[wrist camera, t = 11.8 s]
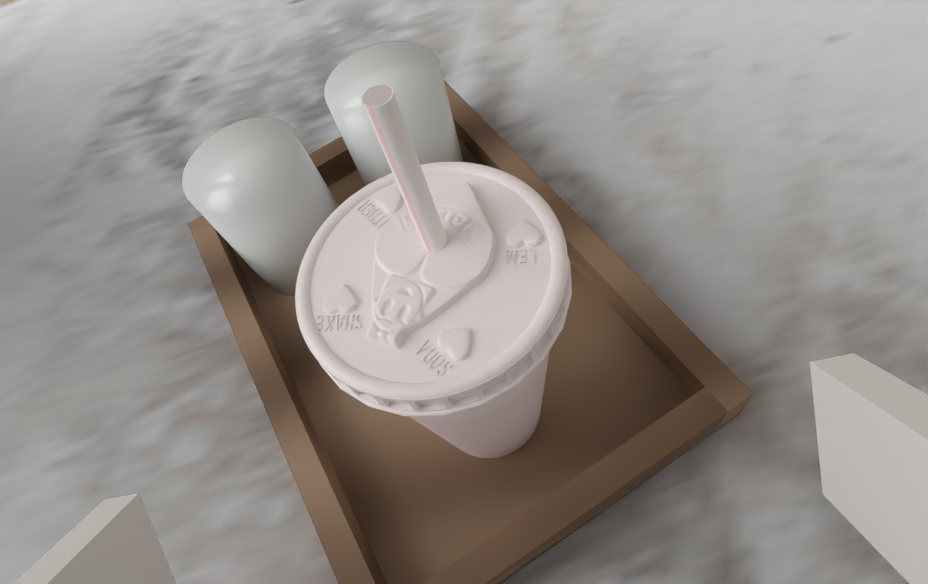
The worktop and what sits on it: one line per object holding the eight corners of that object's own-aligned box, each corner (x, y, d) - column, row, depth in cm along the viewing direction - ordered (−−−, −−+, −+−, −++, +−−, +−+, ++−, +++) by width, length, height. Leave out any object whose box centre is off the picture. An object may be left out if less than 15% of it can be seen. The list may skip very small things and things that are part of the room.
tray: (212, 248, 29) (187, 223, 27) (451, 109, 30) (442, 78, 29) (392, 660, 18) (372, 663, 16) (739, 413, 20) (753, 393, 18)
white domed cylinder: (352, 192, 28) (301, 90, 23) (422, 136, 29) (389, 27, 24) (414, 240, 25) (372, 139, 20) (487, 177, 27) (465, 67, 22)
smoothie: (604, 360, 21) (620, 15, 9) (539, 531, 19) (449, 356, 7) (450, 308, 24) (308, -20, 12) (374, 455, 21) (95, 225, 9)
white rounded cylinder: (247, 245, 27) (168, 157, 22) (331, 196, 28) (274, 99, 23) (280, 314, 25) (201, 233, 20) (372, 259, 26) (318, 166, 20)
